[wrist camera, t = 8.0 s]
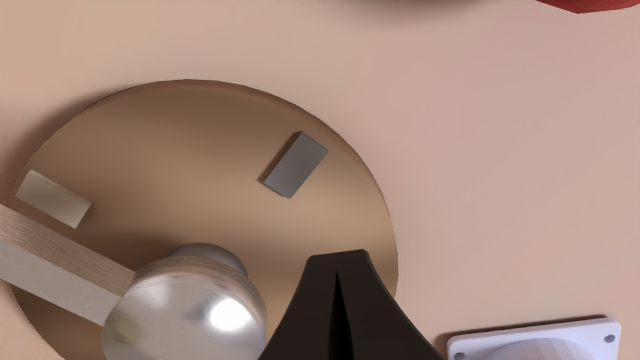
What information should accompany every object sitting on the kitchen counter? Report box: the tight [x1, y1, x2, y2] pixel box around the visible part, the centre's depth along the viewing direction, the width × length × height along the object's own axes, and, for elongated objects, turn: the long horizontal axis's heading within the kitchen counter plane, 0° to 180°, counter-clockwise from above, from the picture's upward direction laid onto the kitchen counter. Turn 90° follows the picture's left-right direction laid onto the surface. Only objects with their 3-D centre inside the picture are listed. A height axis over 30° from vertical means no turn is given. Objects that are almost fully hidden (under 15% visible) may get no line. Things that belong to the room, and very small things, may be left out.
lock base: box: [6, 79, 398, 360], centre depth 22 cm, size 16×16×4 cm
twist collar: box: [0, 204, 268, 360], centre depth 18 cm, size 14×6×2 cm, turn 55°
